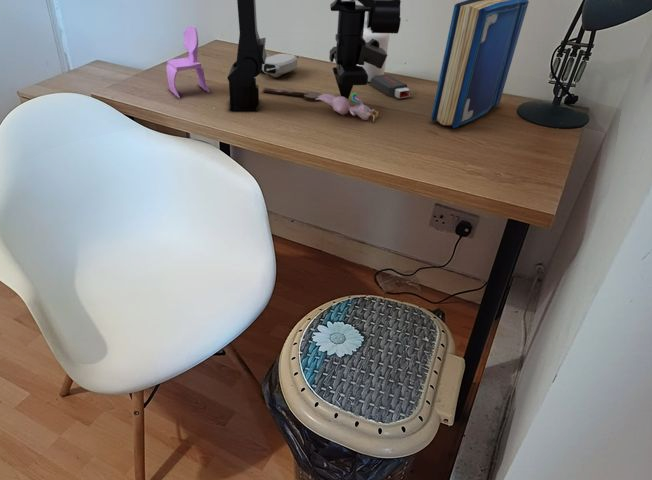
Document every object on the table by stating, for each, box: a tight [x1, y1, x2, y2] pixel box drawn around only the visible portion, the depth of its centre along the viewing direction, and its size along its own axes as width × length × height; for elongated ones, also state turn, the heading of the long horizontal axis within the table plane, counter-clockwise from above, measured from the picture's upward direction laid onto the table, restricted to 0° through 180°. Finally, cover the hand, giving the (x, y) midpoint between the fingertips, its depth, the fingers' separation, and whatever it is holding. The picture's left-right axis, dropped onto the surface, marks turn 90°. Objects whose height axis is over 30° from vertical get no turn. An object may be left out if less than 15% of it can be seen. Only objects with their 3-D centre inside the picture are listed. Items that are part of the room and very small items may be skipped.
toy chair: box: [165, 26, 210, 99], centre depth 129 cm, size 8×9×15 cm
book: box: [430, 0, 529, 129], centre depth 117 cm, size 22×7×25 cm, turn 134°
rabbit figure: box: [315, 92, 379, 122], centre depth 122 cm, size 6×6×15 cm
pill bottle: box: [357, 17, 390, 83], centre depth 139 cm, size 8×8×15 cm
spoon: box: [262, 87, 322, 102], centre depth 133 cm, size 15×4×1 cm, turn 73°
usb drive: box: [370, 73, 411, 100], centre depth 136 cm, size 5×12×3 cm, turn 24°
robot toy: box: [261, 53, 303, 78], centre depth 146 cm, size 12×4×15 cm
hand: (344, 102), depth 126 cm, fingers closed
